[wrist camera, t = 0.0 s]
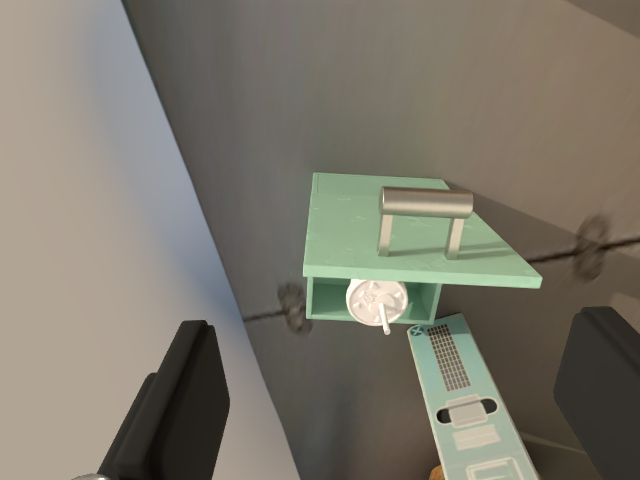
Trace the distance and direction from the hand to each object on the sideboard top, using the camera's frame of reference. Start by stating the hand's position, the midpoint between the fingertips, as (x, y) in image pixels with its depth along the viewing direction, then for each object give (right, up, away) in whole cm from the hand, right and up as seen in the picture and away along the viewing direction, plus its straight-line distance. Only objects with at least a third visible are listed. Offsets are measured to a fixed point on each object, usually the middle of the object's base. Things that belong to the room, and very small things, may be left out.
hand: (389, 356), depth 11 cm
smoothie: (+4, +1, +40) cm, 40 cm away
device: (+16, -14, +49) cm, 53 cm away
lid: (+5, +3, +22) cm, 23 cm away
